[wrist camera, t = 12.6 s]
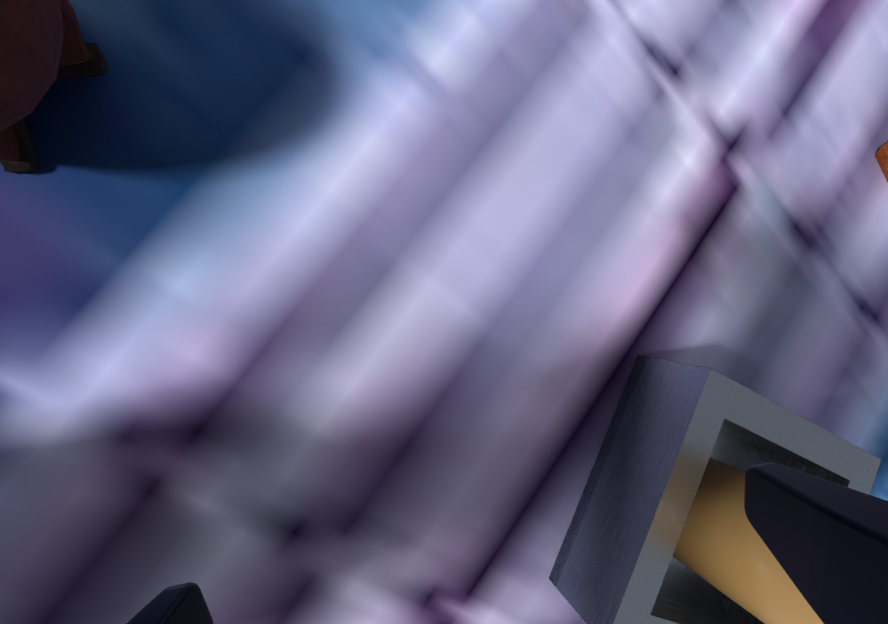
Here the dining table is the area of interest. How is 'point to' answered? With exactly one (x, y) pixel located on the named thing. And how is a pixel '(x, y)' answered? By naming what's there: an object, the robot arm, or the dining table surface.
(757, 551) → the tan cylinder
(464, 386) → the dining table surface
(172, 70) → the dining table surface
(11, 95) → the mate gourd
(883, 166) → the kendama
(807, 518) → the robot arm
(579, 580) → the gray square dish
